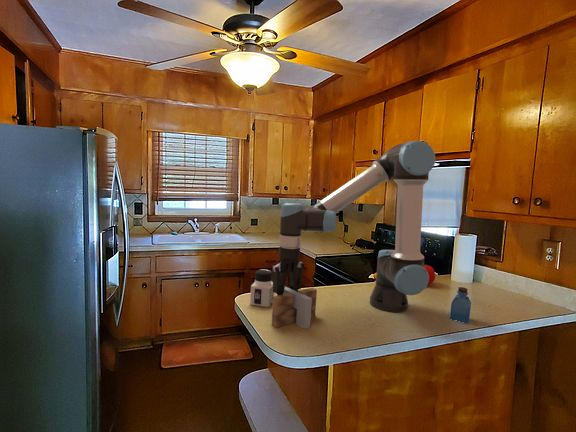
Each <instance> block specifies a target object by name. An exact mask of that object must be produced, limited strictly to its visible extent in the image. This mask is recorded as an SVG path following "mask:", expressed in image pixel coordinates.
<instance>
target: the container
mask: <svg viewBox="0 0 576 432" xmlns="http://www.w3.org/2000/svg"><path fill="white" fill-rule="evenodd" d="M273 296H275V293H274V292H273V271H271V270H268V269H263V268H262V269H258V270H256V271H255V272H254V282H253V283H252V284H251V285H250V303H249V304H250V305H251V306H256V307H257V306H258V307H264V308H265V307H267V308H269V307H270V306H271V305H272V304H273Z"/></svg>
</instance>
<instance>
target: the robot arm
mask: <svg viewBox="0 0 576 432" xmlns="http://www.w3.org/2000/svg"><path fill="white" fill-rule="evenodd" d="M435 164H436V154H435V151H434V149H433V148H432V146H430V145H429V143H427V142H425V141H423V140H409V141H406V142H404V143H399V144H395V145H394V146H393V147H391V148H390V149H388V150H387V151H386V152H385V153H384V154H381V155H380V156H379V157H378V158H377V159H375V160H374V161H372V165H371V166H369V167H368V168H367V169H365V170H363V171H362V172H361V173H359V174H358V175H356V176H354V178H352V179H350V180H348V181H347V182H346V183H344V184H343V185H342V186H340V187H339V188H337V189H336V190H334V191H333V192H331V193H330V194H328V195H327V196H325V197H324V198H323V199H321V200H320V201H319V202H317V203H316V204H314V205H311V206H308V207H307V208H306V209H305V208H304V206H303V204H301V203H296V202H294V203H293V202H285V203H283V204H282V205H281V210H280V219H279V220H280V222H279V224H280V225H279V226H280V228H279V242H278V243H279V247H278V258H279V260H278V263H277V264H276V265H271V270H272V282H273V292H274V294H277V295H282V294H283V293H284V289H285V287H286V283H287V279H288V278H287V277H289V285H290V287H289V288H290V289H292V290H295V291H297V292H299V291H300V290H302V284H303V283H302V282H303V273H304V267H305V263H304V262H302V261H300V260H299V259H300V256H301V255H300V254H301V248H300V247H301V243H302V242H301V241H302V239H301V238H302V232H303V231H304V232H307V231H308V232H322V233H326V232H327V233H333V232H335V230H336V227H337V214H338V213H339V212H341V211H342V210H343V209H345V208H347V206H349V205H351V204H352V203H354V202H355V201H357V200H358V199H359V198H361V197H362V196H364V195H366V194H367V193H369V192H370V191H372V190H373V189H375V187H377V186H379V185H381V183H383V182H385V183H388V182H389V181H391V180H393V181H394V182H395V183H396V184H397V192H396V193H397V196H396V197H397V199H396V217H395V218H396V219H395V221H396V222H395V242H394V243H395V245H394V246H395V247H394V249H381V250H379V251H378V256H377V257H376V258H377V264H376V275H375V285H374V287H373V290H372V292H371V294H370V297H369V304H370V305H371V306H372V307H373V308H376V309H378V310H380V311H381V310H382V311H386V312H390V313H391V312H392V313H402V312H406V311H407V310H408V309H409V300H408V299H409V298H408V296H415V295H418V294H421V293H422V292H423V291H425V289H426V288H427V286H429V285H428V282H429V275H428V272H427V271H426V269H425V268H424V264H425V256H424V254H422V253H421V238H422V221H423V220H422V219H423V202H424V201H423V199H424V187H425V184H427V182H428V181H429V176H430V175H429V173H430V171H432V169H433V168H434V166H435ZM277 295H276V296H277Z"/></svg>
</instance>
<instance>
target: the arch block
mask: <svg viewBox="0 0 576 432" xmlns="http://www.w3.org/2000/svg"><path fill="white" fill-rule="evenodd" d="M286 293H290V294H292V295H293V305H292V307H294V308H296V309H297V316H296V322H295V324H296V325H297V326H299V327H301V328H303V329H307V328H310V327H311V319H312V317H311V305H312V298H310V297H308V296H306V295H303V294H301V293H299V292H297V291H295V290H292V289H291V287H287V286H285V289H284V293H283V294H286Z"/></svg>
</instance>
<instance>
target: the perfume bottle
mask: <svg viewBox="0 0 576 432" xmlns="http://www.w3.org/2000/svg"><path fill="white" fill-rule="evenodd" d="M468 294H469V292H468V288H466V287H462V286H460V287H458V290H457V294H456V295H455V296H454V298H453V299H452V302H450V303H451V304H450V313H449V320H450V319H452V320H451V321H454V320H457V321H456V322H458V321H460V322H459V323H462V322H464V323H463V324H466V323H468V324H469V321H470V316H471V308H472V302H471V299H470V296H468Z"/></svg>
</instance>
